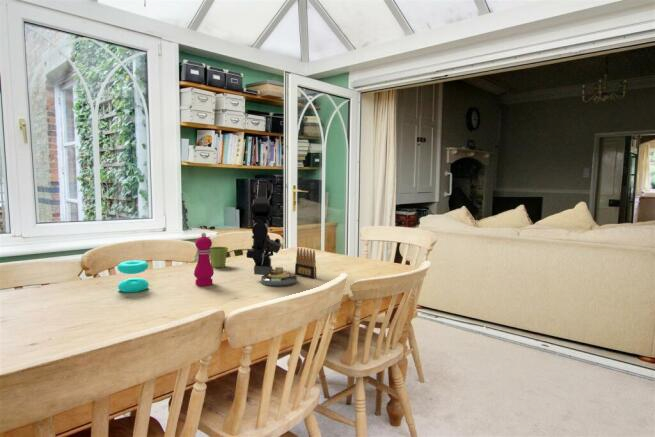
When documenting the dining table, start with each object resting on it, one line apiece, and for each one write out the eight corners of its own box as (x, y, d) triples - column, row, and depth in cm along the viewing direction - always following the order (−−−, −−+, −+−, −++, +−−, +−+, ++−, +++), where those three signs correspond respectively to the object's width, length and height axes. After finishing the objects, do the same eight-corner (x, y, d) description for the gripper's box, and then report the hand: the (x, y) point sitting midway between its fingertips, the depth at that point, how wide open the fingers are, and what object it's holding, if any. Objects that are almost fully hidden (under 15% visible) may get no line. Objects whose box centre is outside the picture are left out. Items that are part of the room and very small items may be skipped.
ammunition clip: (316, 278, 171) (317, 250, 170) (313, 279, 169) (314, 250, 168) (297, 274, 177) (298, 246, 176) (294, 274, 176) (295, 247, 175)
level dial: (250, 277, 161) (250, 267, 161) (259, 272, 170) (259, 263, 169) (285, 280, 157) (285, 270, 157) (293, 275, 166) (293, 266, 165)
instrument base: (257, 286, 156) (257, 278, 156) (265, 277, 170) (265, 270, 170) (293, 287, 155) (294, 279, 155) (298, 278, 169) (299, 271, 169)
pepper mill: (208, 287, 153) (207, 234, 151) (190, 285, 155) (189, 233, 153) (217, 282, 160) (216, 232, 158) (200, 281, 162) (199, 231, 160)
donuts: (139, 258, 154) (153, 262, 148) (139, 284, 155) (154, 289, 149) (112, 262, 146) (126, 266, 140) (112, 289, 147) (126, 295, 141)
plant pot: (203, 267, 186) (203, 249, 185) (214, 263, 194) (214, 245, 194) (221, 269, 183) (221, 250, 182) (232, 265, 192) (232, 247, 191)
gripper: (275, 238, 155) (273, 278, 157) (284, 230, 173) (283, 266, 176) (246, 236, 156) (245, 276, 158) (258, 228, 174) (257, 264, 177)
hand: (259, 270), depth 167 cm, fingers closed
